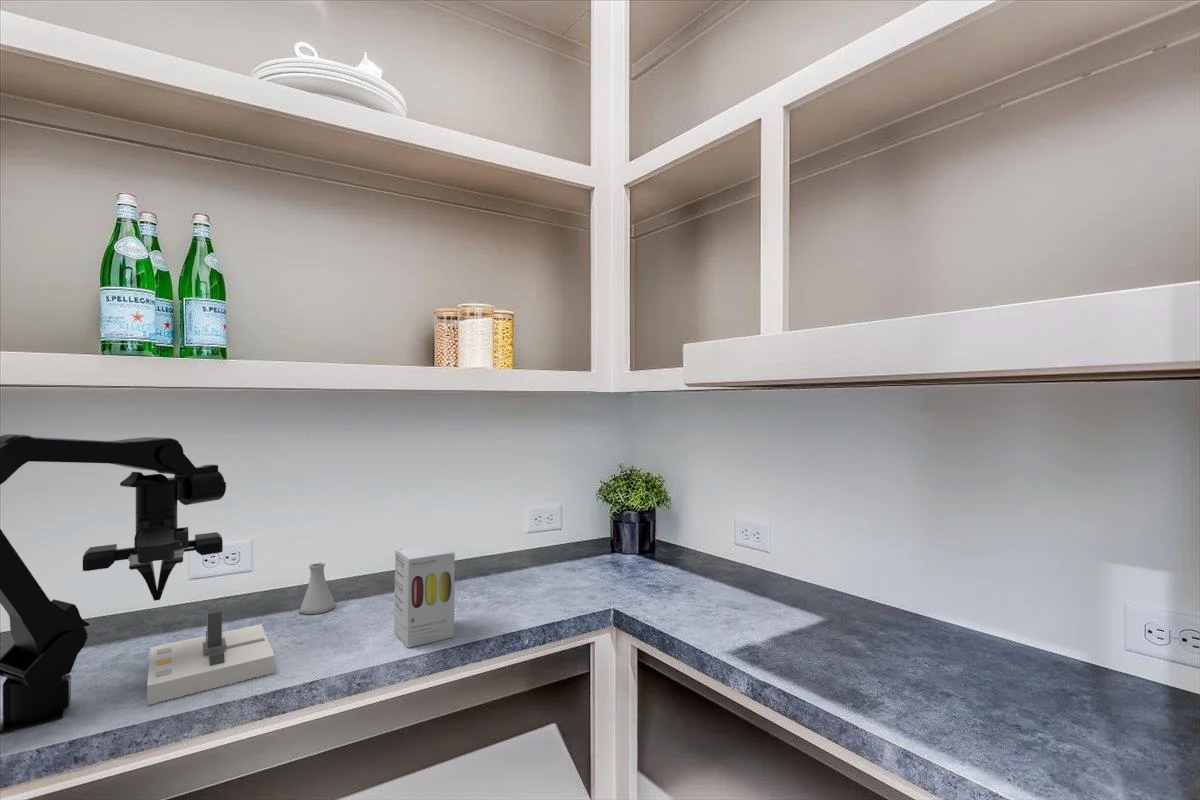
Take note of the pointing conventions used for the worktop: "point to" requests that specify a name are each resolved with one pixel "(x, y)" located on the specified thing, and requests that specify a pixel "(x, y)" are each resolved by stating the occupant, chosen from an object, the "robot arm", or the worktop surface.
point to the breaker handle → (214, 631)
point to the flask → (317, 592)
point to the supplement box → (424, 594)
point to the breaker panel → (207, 663)
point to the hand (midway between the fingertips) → (157, 599)
